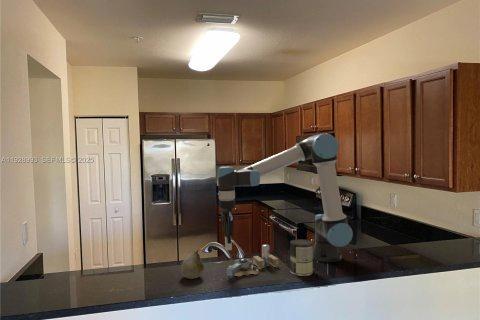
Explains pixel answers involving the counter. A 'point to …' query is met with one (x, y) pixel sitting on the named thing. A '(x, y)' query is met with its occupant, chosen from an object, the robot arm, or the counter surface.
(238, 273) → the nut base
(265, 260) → the pin
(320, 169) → the robot arm
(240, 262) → the grey metal pan
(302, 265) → the coffee can
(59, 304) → the counter surface
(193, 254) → the fruit
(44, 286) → the counter surface
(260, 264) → the slot rails
